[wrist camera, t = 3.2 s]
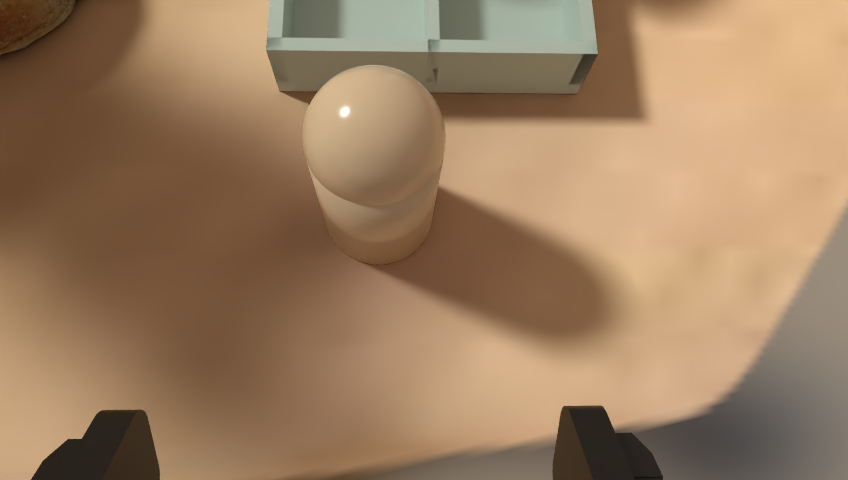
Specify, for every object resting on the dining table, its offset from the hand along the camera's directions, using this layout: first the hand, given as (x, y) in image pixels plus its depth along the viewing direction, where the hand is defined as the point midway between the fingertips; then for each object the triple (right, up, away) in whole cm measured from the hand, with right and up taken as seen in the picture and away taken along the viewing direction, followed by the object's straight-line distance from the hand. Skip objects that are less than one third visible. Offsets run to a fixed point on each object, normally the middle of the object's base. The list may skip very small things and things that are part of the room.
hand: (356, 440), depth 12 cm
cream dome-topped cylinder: (-1, +5, +15) cm, 16 cm away
